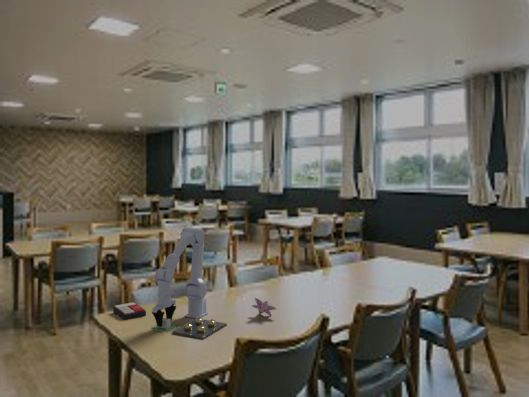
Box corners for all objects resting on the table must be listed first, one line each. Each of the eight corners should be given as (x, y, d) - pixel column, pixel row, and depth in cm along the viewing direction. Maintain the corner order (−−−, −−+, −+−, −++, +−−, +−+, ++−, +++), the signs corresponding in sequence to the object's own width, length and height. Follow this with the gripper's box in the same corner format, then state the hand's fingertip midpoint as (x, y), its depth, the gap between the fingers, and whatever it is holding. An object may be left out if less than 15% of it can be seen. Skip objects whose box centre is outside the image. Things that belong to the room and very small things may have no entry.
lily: (278, 321, 218) (280, 302, 223) (260, 316, 212) (263, 296, 216) (262, 323, 227) (264, 304, 231) (244, 318, 220) (246, 299, 224)
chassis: (197, 320, 215) (197, 312, 215) (226, 325, 209) (226, 317, 209) (172, 333, 197) (172, 324, 197) (203, 339, 191) (203, 330, 190)
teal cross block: (163, 323, 212) (163, 314, 212) (179, 326, 208) (179, 317, 208) (148, 330, 202) (148, 321, 202) (164, 333, 198) (164, 324, 198)
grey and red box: (124, 313, 215) (113, 304, 226) (124, 322, 215) (112, 313, 227) (146, 309, 222) (134, 301, 233) (146, 317, 222) (133, 309, 234)
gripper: (166, 289, 213) (166, 318, 213) (146, 297, 199) (146, 327, 200) (179, 291, 210) (179, 320, 210) (159, 299, 196) (159, 329, 197)
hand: (164, 324), depth 205 cm, fingers open, 6 cm apart
